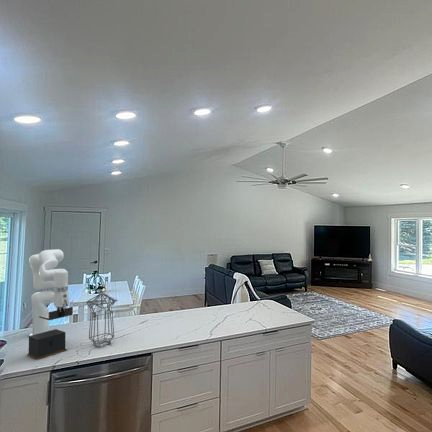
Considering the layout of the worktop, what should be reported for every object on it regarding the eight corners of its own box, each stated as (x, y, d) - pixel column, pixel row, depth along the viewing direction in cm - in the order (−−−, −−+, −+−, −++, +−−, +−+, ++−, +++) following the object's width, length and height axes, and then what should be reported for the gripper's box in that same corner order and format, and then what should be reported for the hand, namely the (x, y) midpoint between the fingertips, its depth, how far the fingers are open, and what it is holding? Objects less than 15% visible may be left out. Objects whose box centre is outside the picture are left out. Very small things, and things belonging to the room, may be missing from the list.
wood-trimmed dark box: (27, 355, 208) (27, 336, 208) (56, 346, 222) (56, 328, 222) (38, 360, 201) (38, 340, 201) (67, 350, 215) (67, 332, 215)
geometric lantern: (93, 350, 215) (93, 297, 215) (84, 344, 225) (85, 293, 226) (118, 343, 227) (118, 292, 227) (109, 338, 237) (109, 289, 238)
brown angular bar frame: (72, 314, 223) (72, 307, 223) (49, 320, 211) (49, 312, 211) (62, 312, 229) (62, 304, 229) (39, 317, 217) (39, 309, 217)
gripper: (73, 289, 217) (73, 317, 217) (60, 287, 224) (60, 314, 224) (61, 291, 210) (60, 320, 210) (48, 289, 218) (48, 317, 218)
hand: (60, 317), depth 217 cm, fingers closed on brown angular bar frame, 1 cm apart
